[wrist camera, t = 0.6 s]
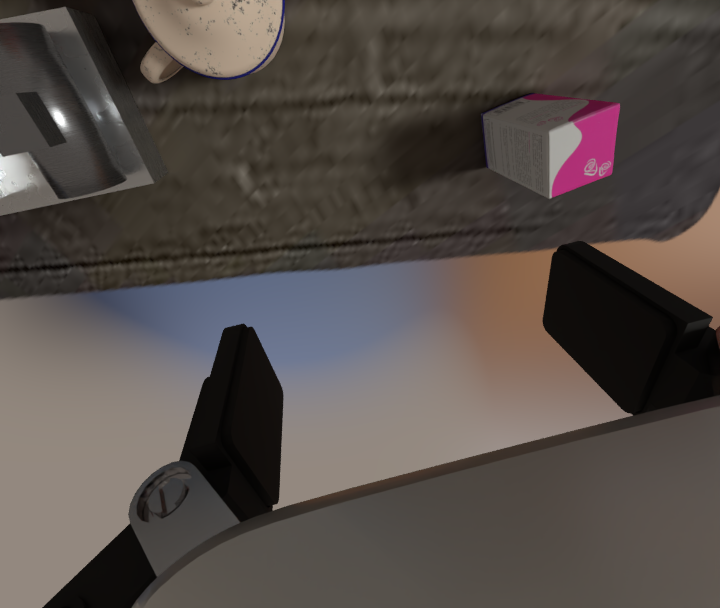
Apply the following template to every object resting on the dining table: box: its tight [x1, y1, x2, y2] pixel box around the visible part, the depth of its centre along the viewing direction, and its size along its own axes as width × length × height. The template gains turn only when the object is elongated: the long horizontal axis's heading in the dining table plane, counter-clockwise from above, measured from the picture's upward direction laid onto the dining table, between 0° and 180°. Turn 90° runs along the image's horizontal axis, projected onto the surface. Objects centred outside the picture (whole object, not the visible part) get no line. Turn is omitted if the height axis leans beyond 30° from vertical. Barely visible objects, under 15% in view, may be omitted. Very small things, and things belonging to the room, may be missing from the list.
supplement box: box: [481, 93, 620, 198], centre depth 32 cm, size 6×6×12 cm
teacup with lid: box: [132, 0, 285, 83], centre depth 23 cm, size 12×9×12 cm
